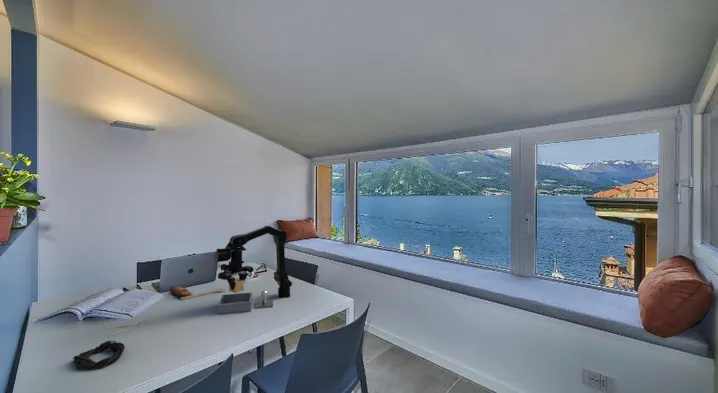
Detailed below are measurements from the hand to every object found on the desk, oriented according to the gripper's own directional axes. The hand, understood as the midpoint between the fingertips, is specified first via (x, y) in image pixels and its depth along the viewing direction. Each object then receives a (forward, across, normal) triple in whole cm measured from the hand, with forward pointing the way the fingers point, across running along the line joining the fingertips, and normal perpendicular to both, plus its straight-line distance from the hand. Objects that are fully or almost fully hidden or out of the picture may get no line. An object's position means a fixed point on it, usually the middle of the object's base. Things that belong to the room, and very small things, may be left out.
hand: (236, 288), depth 161 cm
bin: (+10, 0, 0) cm, 10 cm away
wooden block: (+1, 0, 0) cm, 1 cm away
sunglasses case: (+11, +2, -46) cm, 47 cm away
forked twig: (+11, +40, -23) cm, 48 cm away
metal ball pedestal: (+10, -10, +10) cm, 18 cm away
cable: (+11, +59, -2) cm, 60 cm away
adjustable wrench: (+11, -4, -33) cm, 35 cm away
